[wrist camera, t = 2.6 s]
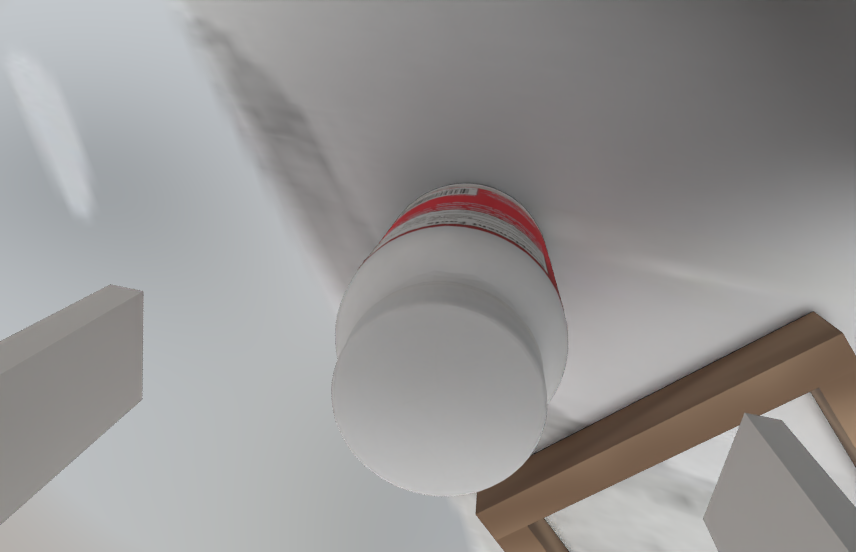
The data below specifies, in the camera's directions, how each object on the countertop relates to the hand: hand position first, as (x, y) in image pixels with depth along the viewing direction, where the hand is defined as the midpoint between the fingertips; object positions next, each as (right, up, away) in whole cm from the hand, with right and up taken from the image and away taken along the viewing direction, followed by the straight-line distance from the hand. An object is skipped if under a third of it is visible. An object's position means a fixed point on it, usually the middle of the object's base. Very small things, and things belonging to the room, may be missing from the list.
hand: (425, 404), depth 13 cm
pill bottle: (+2, +3, +10) cm, 11 cm away
